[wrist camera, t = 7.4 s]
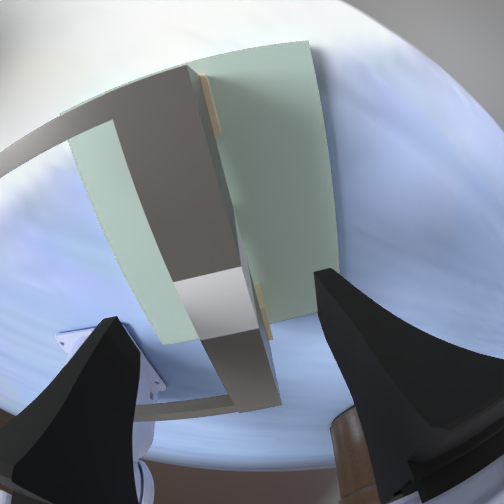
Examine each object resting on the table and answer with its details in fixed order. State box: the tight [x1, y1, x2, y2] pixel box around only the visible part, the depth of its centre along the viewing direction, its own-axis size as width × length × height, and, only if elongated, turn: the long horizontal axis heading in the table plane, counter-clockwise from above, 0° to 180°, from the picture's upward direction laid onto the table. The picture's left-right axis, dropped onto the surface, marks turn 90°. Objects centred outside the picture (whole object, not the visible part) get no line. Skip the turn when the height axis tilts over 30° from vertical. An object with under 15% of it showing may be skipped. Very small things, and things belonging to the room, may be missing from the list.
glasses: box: [0, 65, 282, 422], centre depth 13 cm, size 16×10×5 cm, turn 12°
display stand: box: [60, 41, 340, 345], centre depth 17 cm, size 18×14×4 cm
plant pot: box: [330, 406, 401, 504], centre depth 29 cm, size 16×16×16 cm
